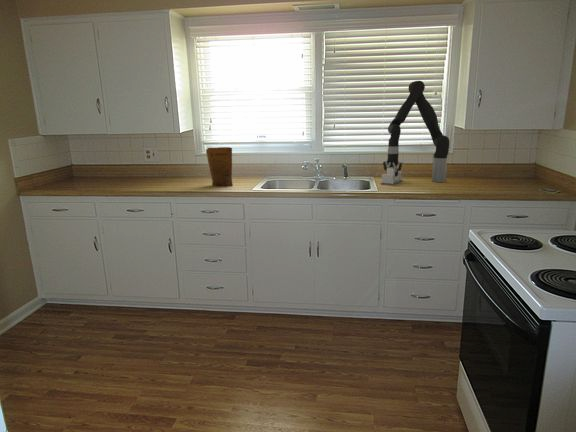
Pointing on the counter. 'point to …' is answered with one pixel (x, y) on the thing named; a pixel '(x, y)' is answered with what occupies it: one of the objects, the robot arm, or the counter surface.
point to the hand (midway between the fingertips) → (392, 176)
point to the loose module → (392, 172)
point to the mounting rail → (391, 179)
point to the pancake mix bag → (220, 165)
